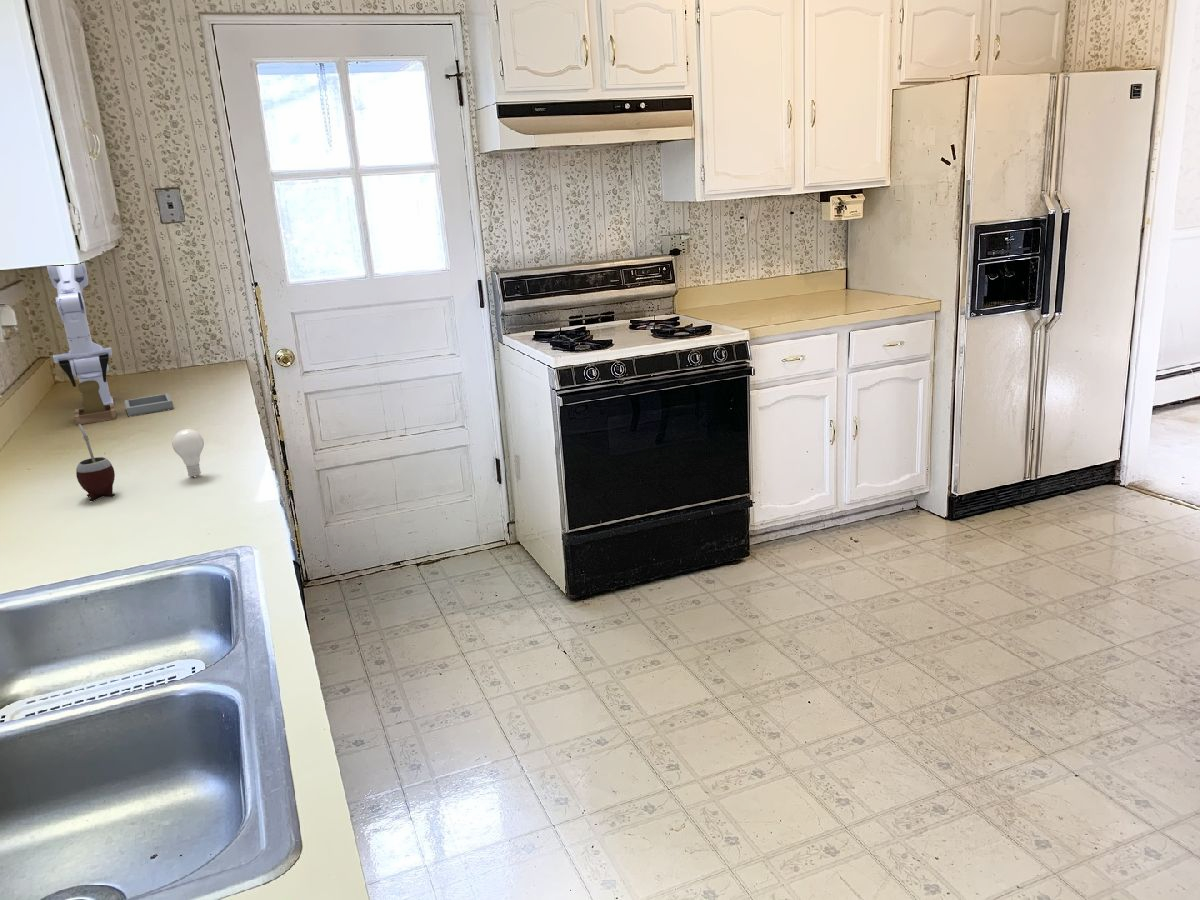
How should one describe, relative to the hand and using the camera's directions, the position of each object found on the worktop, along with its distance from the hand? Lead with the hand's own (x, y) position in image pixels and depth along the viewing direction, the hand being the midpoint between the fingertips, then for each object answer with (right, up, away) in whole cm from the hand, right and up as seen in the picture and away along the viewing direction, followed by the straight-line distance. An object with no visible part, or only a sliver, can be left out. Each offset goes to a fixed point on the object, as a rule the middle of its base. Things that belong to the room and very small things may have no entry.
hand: (90, 383), depth 257 cm
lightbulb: (+54, -25, -55) cm, 81 cm away
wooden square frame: (0, -10, +3) cm, 10 cm away
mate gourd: (+38, -29, -63) cm, 79 cm away
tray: (+12, -7, +10) cm, 17 cm away
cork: (0, -10, +3) cm, 10 cm away
